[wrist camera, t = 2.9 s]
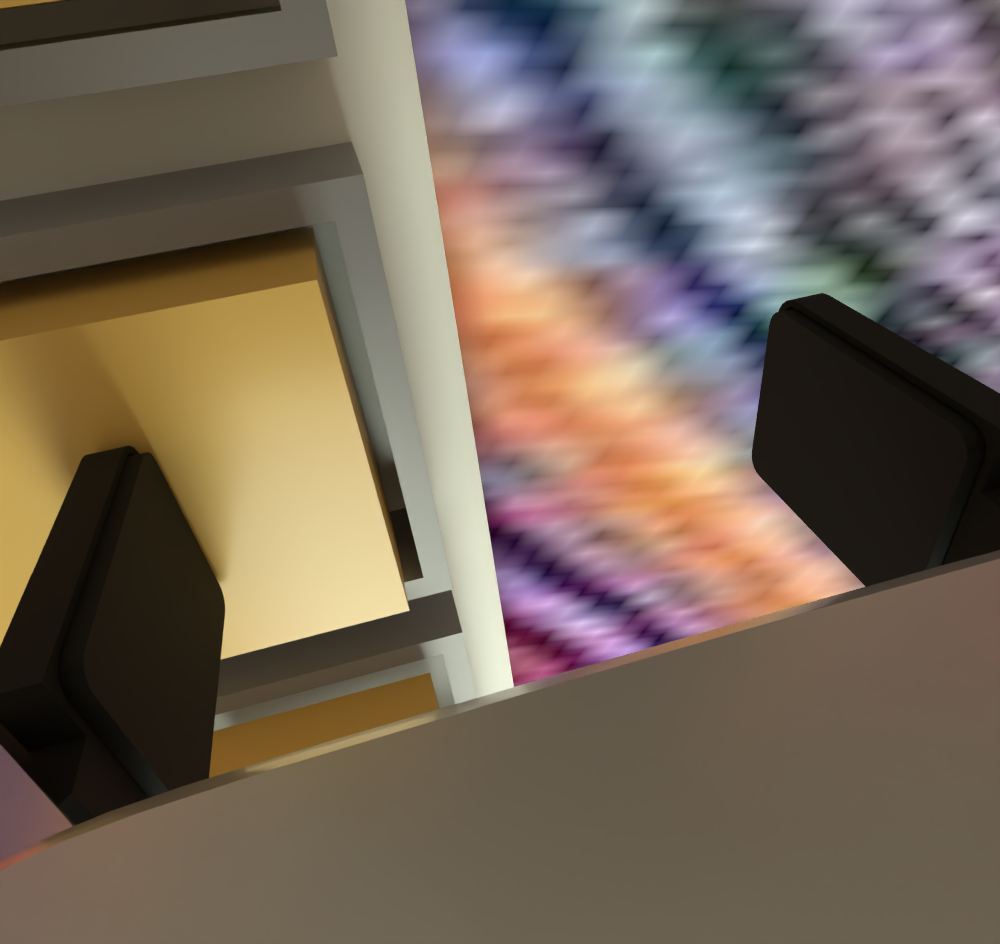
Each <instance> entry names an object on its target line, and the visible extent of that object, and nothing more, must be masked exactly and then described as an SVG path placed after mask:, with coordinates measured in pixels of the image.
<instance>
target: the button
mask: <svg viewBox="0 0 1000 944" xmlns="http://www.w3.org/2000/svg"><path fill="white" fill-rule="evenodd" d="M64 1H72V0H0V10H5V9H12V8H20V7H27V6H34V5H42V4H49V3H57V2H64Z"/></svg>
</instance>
